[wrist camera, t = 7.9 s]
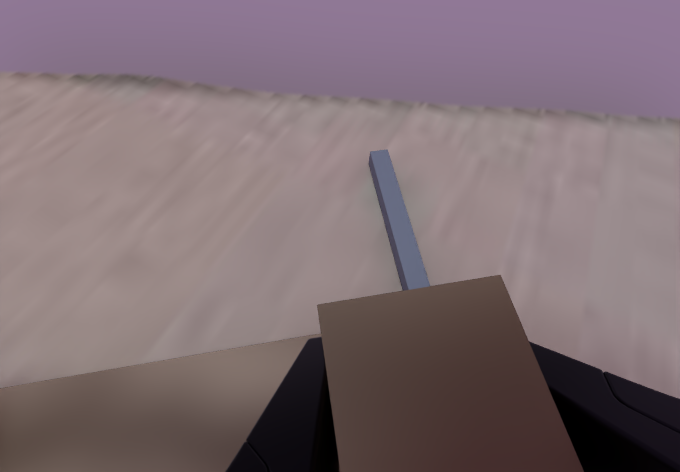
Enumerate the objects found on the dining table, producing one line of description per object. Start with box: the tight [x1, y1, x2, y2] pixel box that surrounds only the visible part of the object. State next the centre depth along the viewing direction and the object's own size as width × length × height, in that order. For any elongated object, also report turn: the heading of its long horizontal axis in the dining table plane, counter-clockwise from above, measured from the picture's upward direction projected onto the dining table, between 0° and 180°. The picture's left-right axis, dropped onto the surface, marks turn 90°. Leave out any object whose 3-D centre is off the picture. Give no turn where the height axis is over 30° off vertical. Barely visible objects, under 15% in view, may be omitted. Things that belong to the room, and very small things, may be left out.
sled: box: [0, 275, 584, 472], centre depth 8 cm, size 6×22×10 cm, turn 100°
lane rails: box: [369, 150, 430, 291], centre depth 14 cm, size 17×25×1 cm
